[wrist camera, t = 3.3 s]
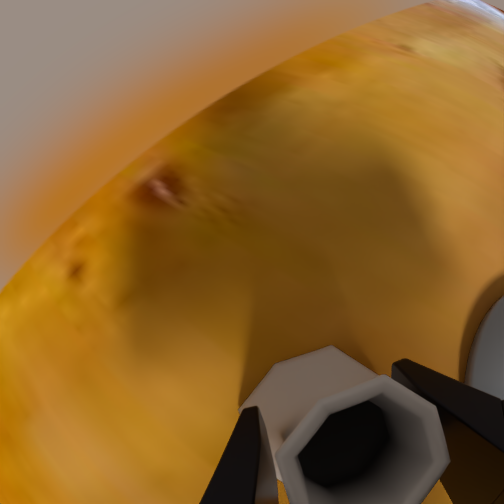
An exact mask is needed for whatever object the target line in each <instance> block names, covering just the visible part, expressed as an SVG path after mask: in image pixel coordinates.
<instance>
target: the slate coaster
mask: <svg viewBox="0 0 504 504" xmlns="http://www.w3.org/2000/svg"><path fill="white" fill-rule="evenodd" d="M464 384H467V385H469V386H471V387H474V388H476V389H479V390H481V391H483V392H486V393H488V394H491V395H493V396H496V397H498V398H500V399H501V400H504V295H503V296H502V297H500V298H499V299H498V300H497V301H496V302H495V303H494V304H493V305H492V307H491V308H490V309H489V311H488V312H487V313H486V315H485V317H484V319H483V320H482V322H481V324H480V326H479V328H478V330H477V333H476V335H475V338H474V340H473V343H472V346H471V350H470V354H469V358H468V361H467V368H466V373H465V383H464Z"/></svg>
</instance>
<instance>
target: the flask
mask: <svg viewBox="0 0 504 504" xmlns="http://www.w3.org/2000/svg"><path fill="white" fill-rule="evenodd" d="M251 406H258V407H259V409H260V412H261V415H262V417H263V420H264V423H265V426H266V429H267V434H268V438H269V443H270V447H271V452H272V456H273V461H274V465H275V470H276V477H277V479H278V480H280V481H282V482H283V484H284V487H285V490H286V493H287V496H288V499H289V502H290V504H421V503H422V502H423V500H424V499H425V498H426V496H427V495H428V494H429V492H430V491H431V489H432V488H433V487H434V485H435V484H436V482H437V481H438V480H439V478H440V477H441V475H442V474H443V472H444V471H445V469H446V468H447V466H448V464H449V463H450V457H449V453H448V448H447V444H446V440H445V437H444V433H443V429H442V425H441V422H440V418H439V415H438V411H437V408H436V406H435V405H433V404H432V403H430V402H428V401H427V400H425V399H423V398H422V397H420V396H419V395H417V394H415V393H414V392H412V391H411V390H409V389H407V388H406V387H404V386H403V385H401V384H400V383H398V382H396V381H395V380H393V379H392V378H390V377H388V376H387V375H380V376H379V375H377V374H376V373H374V372H373V371H371V370H370V369H368V368H367V367H365V366H363V365H362V364H360V363H359V362H357V361H356V360H354V359H353V358H351V357H350V356H348V355H347V354H345V353H343V352H342V351H340V350H339V349H337V348H336V347H334V346H333V345H330V346H327V347H324V348H321V349H318V350H315V351H312V352H309V353H306V354H303V355H300V356H297V357H294V358H291V359H288V360H284V361H281V362H278V363H275V364H274V365H273V366H272V368H271V369H270V370H269V372H268V373H267V374H266V376H265V377H264V378H263V379H262V381H261V382H260V383H259V384H258V386H257V387H256V388H255V389H254V391H253V392H252V393H251V394H250V396H249V397H248V398H247V399H246V401H245V402H244V403H243V404H242V406H241V407H240V408H239V409H238V411H239V414H241V412H242V410H243V409H244V408H247V407H251Z"/></svg>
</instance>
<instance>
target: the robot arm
mask: <svg viewBox="0 0 504 504" xmlns="http://www.w3.org/2000/svg"><path fill="white" fill-rule="evenodd" d="M391 378H392V379H393V380H395V381H396V382H398V383H400V384H401V385H403V386H404V387H406V388H407V389H409V390H411V391H412V392H414V393H415V394H417V395H419V396H420V397H422V398H423V399H425V400H427V401H428V402H430V403H432V404H433V405H435V406H436V408H437V411H438V415H439V418H440V422H441V425H442V429H443V433H444V437H445V440H446V444H447V448H448V453H449V457H450V463H449V464H448V466H447V468H446V469H445V471H444V472H443V474H442V475H441V477H440V478H439V479H440V481H441V483H442V485H443V486H444V488H445V490H446V492H447V494H448V495H449V497H450V499H451V501H452V503H453V504H504V400H501V399H500V398H498V397H496V396H493V395H491V394H488V393H486V392H483V391H481V390H479V389H476V388H474V387H471V386H469V385H467V384H464V383H462V382H460V381H457V380H455V379H453V378H450V377H448V376H446V375H443V374H441V373H439V372H436V371H434V370H432V369H429V368H427V367H425V366H422V365H420V364H418V363H416V362H413V361H411V360H409V359H406V358H404V359H401V360H399V361H396V362H394V363H393V364H392V374H391ZM199 504H279V502H278V488H277V477H276V470H275V465H274V461H273V456H272V452H271V447H270V443H269V438H268V434H267V429H266V426H265V423H264V420H263V417H262V415H261V412H260V409H259V407H258V406H251V407H247V408H244V409H243V410H242V412H241V414H240V416H239V419H238V421H237V423H236V426H235V428H234V430H233V432H232V435H231V437H230V439H229V441H228V443H227V446H226V448H225V450H224V452H223V455H222V457H221V459H220V461H219V463H218V465H217V468H216V470H215V472H214V474H213V476H212V478H211V480H210V482H209V485H208V487H207V489H206V491H205V493H204V495H203V497H202V499H201V501H200V503H199Z"/></svg>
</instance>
